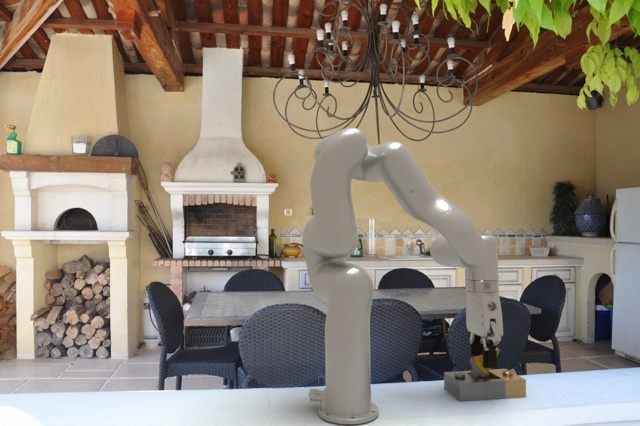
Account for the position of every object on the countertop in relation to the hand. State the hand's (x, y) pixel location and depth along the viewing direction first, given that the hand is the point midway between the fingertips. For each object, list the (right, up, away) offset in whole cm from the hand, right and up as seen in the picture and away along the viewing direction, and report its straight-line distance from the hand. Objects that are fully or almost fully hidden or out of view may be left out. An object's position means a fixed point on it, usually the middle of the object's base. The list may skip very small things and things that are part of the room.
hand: (483, 363), depth 119 cm
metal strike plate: (0, -7, 0) cm, 7 cm away
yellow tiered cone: (0, -3, 0) cm, 3 cm away
